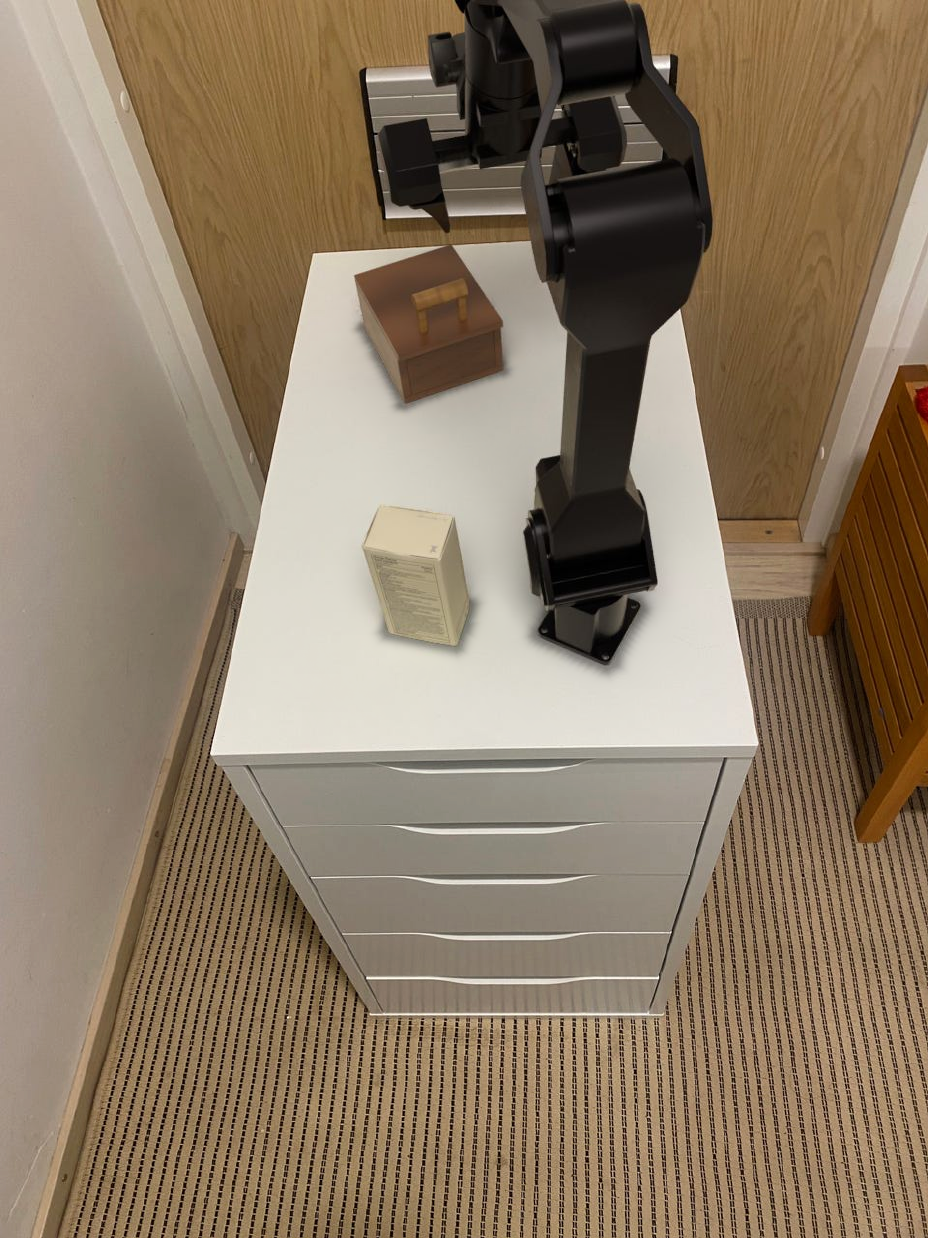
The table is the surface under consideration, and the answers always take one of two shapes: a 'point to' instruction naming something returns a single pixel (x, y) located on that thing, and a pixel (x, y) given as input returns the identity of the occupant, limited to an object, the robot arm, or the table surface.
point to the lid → (427, 302)
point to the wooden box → (435, 360)
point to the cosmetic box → (418, 573)
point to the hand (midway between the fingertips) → (498, 218)
